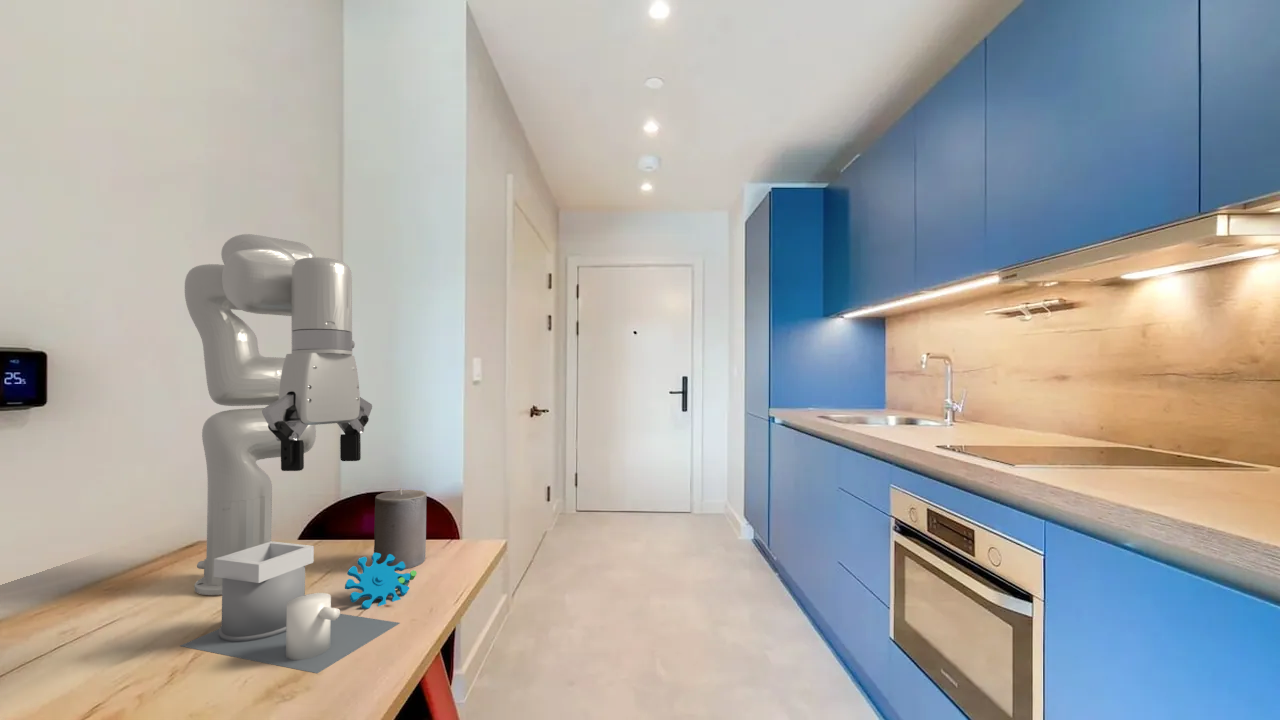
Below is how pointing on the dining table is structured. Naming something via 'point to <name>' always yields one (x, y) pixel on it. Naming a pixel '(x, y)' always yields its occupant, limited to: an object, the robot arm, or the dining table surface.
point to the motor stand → (275, 609)
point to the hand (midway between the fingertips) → (323, 465)
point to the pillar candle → (401, 527)
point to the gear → (378, 580)
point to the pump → (309, 625)
